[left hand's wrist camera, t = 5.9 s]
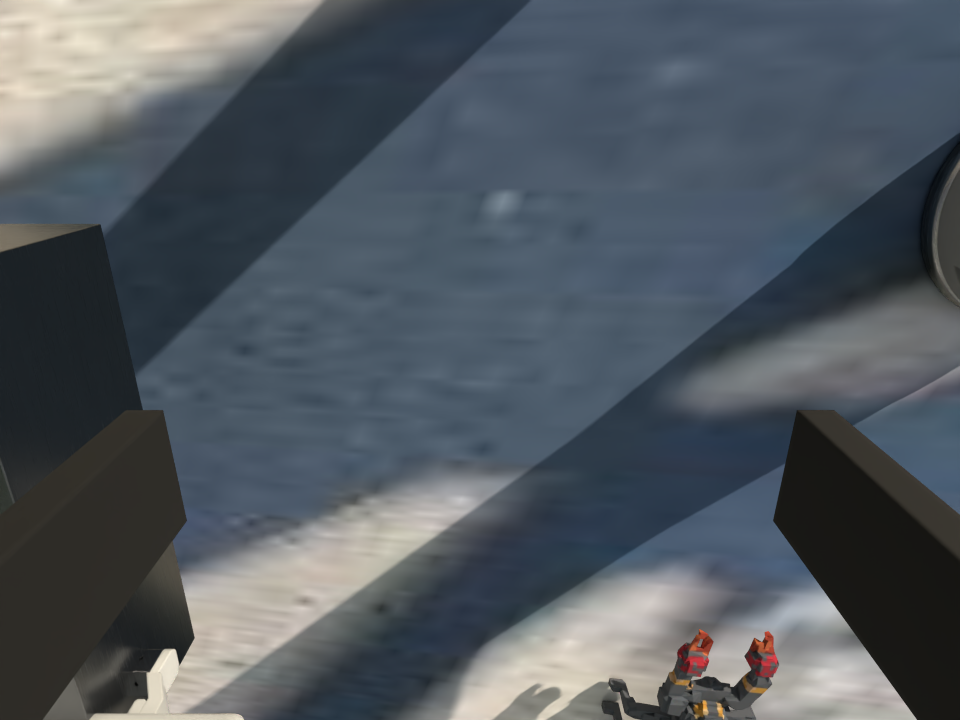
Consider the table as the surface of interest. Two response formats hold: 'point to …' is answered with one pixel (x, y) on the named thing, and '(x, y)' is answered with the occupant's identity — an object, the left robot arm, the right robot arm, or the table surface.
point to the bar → (76, 426)
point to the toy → (702, 687)
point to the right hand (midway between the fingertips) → (110, 656)
